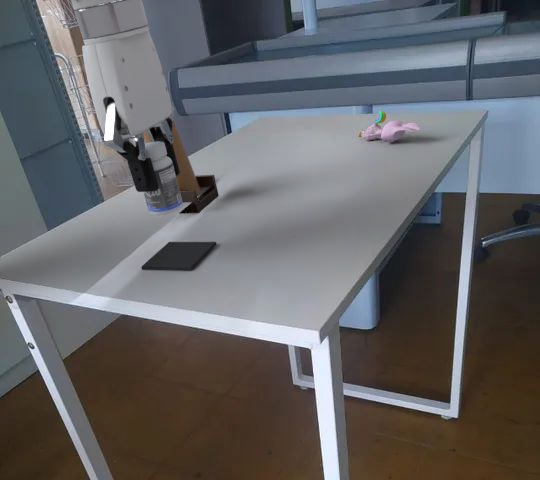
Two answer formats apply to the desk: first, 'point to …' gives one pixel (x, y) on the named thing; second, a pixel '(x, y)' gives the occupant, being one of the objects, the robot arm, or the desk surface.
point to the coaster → (179, 256)
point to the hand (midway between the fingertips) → (158, 181)
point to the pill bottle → (162, 182)
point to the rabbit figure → (387, 129)
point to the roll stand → (206, 198)
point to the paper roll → (181, 163)
